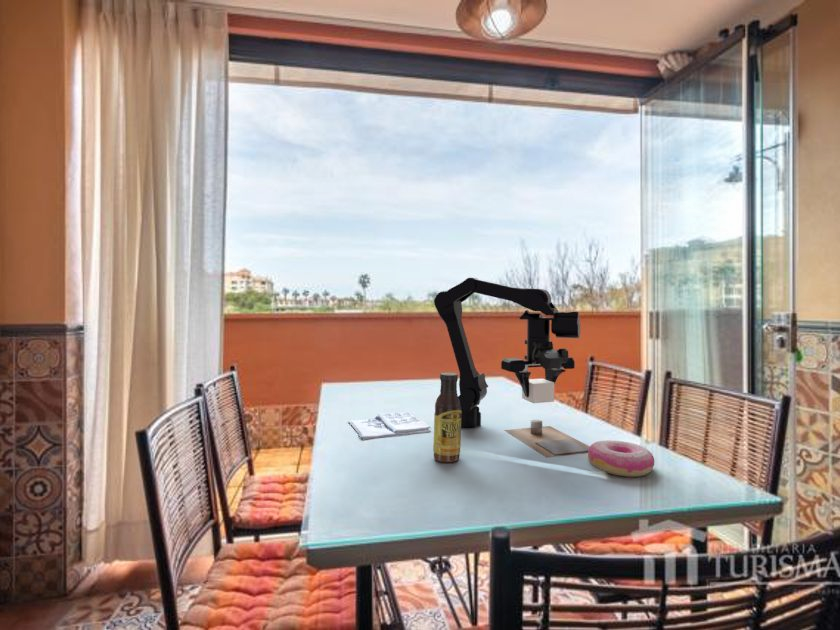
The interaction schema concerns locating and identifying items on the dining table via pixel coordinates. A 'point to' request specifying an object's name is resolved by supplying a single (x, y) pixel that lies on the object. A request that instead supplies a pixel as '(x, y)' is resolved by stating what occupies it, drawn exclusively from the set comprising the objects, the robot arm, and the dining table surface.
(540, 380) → the off-white cube box
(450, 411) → the sauce bottle
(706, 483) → the dining table surface
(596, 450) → the donut
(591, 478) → the dining table surface
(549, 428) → the post stand
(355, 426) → the open sketchbook
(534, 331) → the robot arm
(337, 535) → the dining table surface
